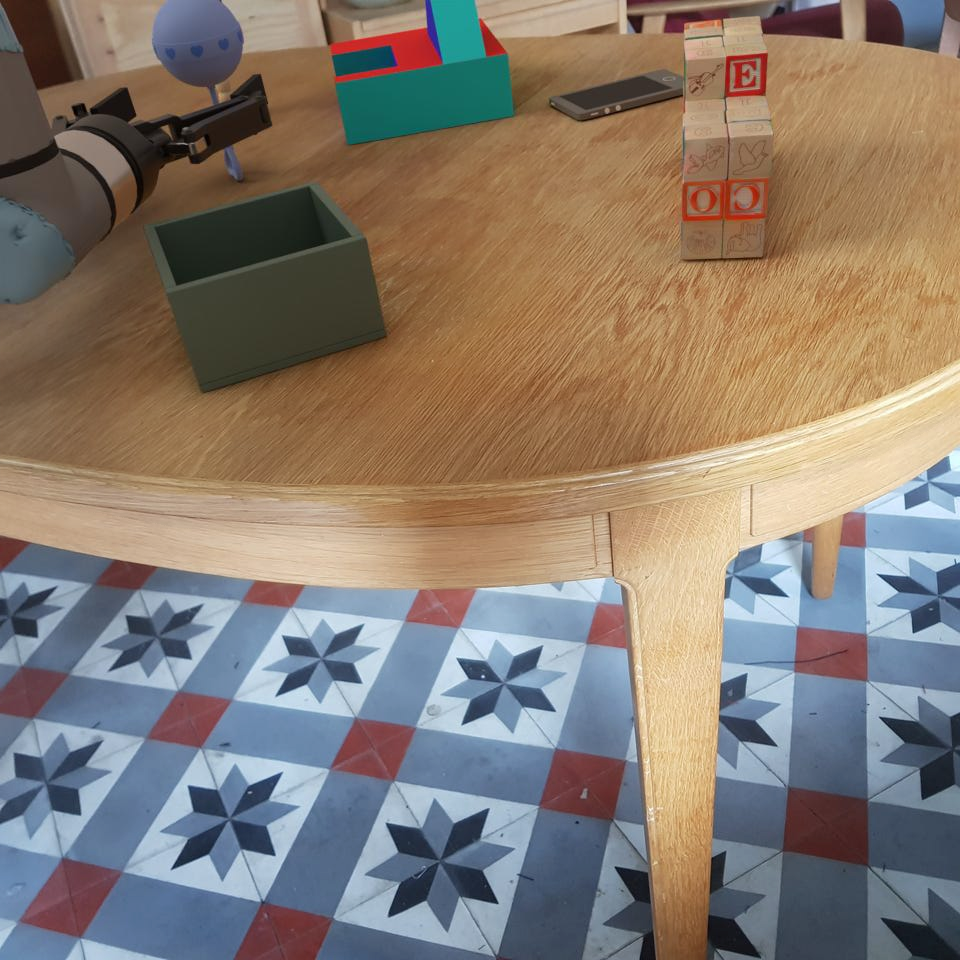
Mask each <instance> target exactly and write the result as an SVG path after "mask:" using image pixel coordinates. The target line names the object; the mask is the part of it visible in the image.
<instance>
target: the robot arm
mask: <svg viewBox="0 0 960 960" xmlns="http://www.w3.org/2000/svg"><path fill="white" fill-rule="evenodd" d="M24 52H25V50H24V48H23V45H22V44H20V43H19V40H18V38H17V36H16V34H15V31H14V29H13V26H12V25H11V22H10V20H9V18H8V15H7V12H6V11H5V9H4V7H3V5H2V3H1V2H0V304H1V305H2V304H3V305H14V306H19V305H23V304H28V303H30V302H33V301H35V300H37V299H38V298H40V297H42V296H43V295H44V294H46V293H47V292H48V291H49V290H51V289H52V288H53V287H54V286H56V285H57V284H59V283H60V282H62V281H65V280H66V279H67V278H68V277H70V276H71V275H72V273H73V271H74V269H76V267H77V266H78V265H79V264H80V263H81V262H82V261H83V260H84V258H85V257H87V255H89V254H90V252H91V251H93V249H94V248H95V247H96V246H100V245H102V244H103V242H104V240H105V239H106V238H107V237H108V235H110V233H112V231H114V230H115V229H116V228H117V227H118V226H119V225H120V224H121V223H122V222H124V221H125V220H126V219H127V218H128V217H129V216H131V215H132V214H133V213H134V212H135V211H137V209H138V208H140V207H141V205H143V204H144V203H145V202H146V201H147V200H148V199H149V198H150V197H151V196H152V194H153V193H154V192H155V190H156V188H157V187H156V186H157V184H158V179H159V175H160V171H161V170H162V169H164V167H165V166H166V165H167V164H170V163H173V162H176V161H179V160H182V159H184V158H186V157H188V160H189V163H190V164H191V165H199V164H201V163H203V162H205V161H207V160H208V159H210V157H211V156H213V155H214V154H217V153H218V152H220V151H222V150H223V149H225V148H227V147H229V146H231V145H233V146H234V145H235V144H237V143H239V142H242V141H244V140H246V139H248V138H250V137H252V136H257V135H258V134H259V133H261V132H263V131H265V130H267V129H269V128H271V127H273V122H272V118H271V113H270V110H269V106H268V105H269V100H268V96H267V93H266V92H267V91H266V89H265V85H264V81H263V76H262V74H261V73H256V74H252V75H251V76H250V77H249V78H248V79H246V80H245V81H244V82H243V83H242V84H241V85H240V86H238V87H237V88H236V89H235V90H234V91H233V92H232V94H231V95H230V98H231V100H228V101H225V102H222V103H220V102H219V104H216V105H213V104H212V105H210V106H208V107H207V106H206V107H204V108H201V109H199V110H194V111H193V112H190V113H186V114H184V115H181V116H178V115H176V114H172V113H166V114H163V115H160V116H157V117H154V118H151V119H149V120H143V119H137V120H135V121H132V120H134V119H135V118H136V117H137V116H138V115H137V112H136V108H135V106H134V103H133V101H132V97H131V94H130V91H129V88H128V86H126V87H118V88H117V89H116V90H115V91H113V92H111V94H109V95H108V96H106V97H104V98H103V99H101V100H100V101H99V102H97V103H96V104H94V105H93V106H91V107H89V111H88V109H87V106H86V103H85V102H78V103H74V104H72V105H71V106H70V108H71V110H72V112H73V116H74V118H73V119H69V118H68V117H67V115H64V114H63V115H62V114H58V115H56V116H55V117H53V118H52V123H51V125H50V122H49V119H48V117H47V114H46V112H45V109H44V106H43V103H42V101H41V98H40V95H39V93H38V90H37V87H36V84H35V82H34V79H33V77H32V74H31V71H30V68H29V66H28V62H27V60H26V58H25V55H24ZM131 121H132V122H131ZM166 126H167V127H168V130H169V133H170V134H168V132H167V131H165V129H163V128H162V127H166ZM223 151H224V150H223Z"/></svg>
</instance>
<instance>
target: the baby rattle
mask: <svg viewBox="0 0 960 960" xmlns="http://www.w3.org/2000/svg"><path fill="white" fill-rule="evenodd" d="M151 44H152V49H153V52H154V54H155V56H156V59H157V60H158V61H160V63H161V64H162V66H163V68H164V69H165V70H166V71H167V72H168V73H169V74H170V75H171V76H172V77H174V78H175V79H176V80H178V81H180V82H182V83H184V84H185V85H189V86H191V87H195V88H196V87H198V88H207V90H208V91H209V95H210V99H211V103H212V106H213V105H216V104H219V103H220V101H219V98H218V94H217V90H216V86H215V85H217V84H220V83H222V82H224V81H225V80H227V79H228V80H229V78H230V77H231V76H232V75H233V74H234V73H235V72H236V70H237V68H238V67H239V65H240V63H241V59H242V56H243V50H244V44H245V37H244V33H243V29H242V26H241V24H240V22H239V21H238V20H237V18H236V17H235V15H234V13H232V11H231V10H230V8H229V7H227V5H225V4H224V2H223V1H222V2H220V1H219V0H166V1H165V2H164V3H163V4H162V5H161V7H160V8H159V10H158V12H157V13H156V15H155V18H154V20H153V26H152V37H151ZM234 150H235V149H234V144H233V145H231V146H229V147H227V148H225V149H223V159H224V164H225V167H226V169H227V172H228V173H229V175H230V176H231V177H233V178H234V180H235V181H237V182H241V181H243V179H244V173H243V169H242V167H241V165H240V162H239V160H238V158H237V155H236V153H235V151H234Z"/></svg>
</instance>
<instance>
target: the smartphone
mask: <svg viewBox="0 0 960 960" xmlns="http://www.w3.org/2000/svg"><path fill="white" fill-rule="evenodd" d="M683 81H684V75H680V74H678V73H675V72H673V71H671V70H667V69H665V68H664V69H663V68H662V69H658V70H653V71H649V72H645V73H641V74H638V75H637V74H636V75H632V76H629V77H625V78H620V79H616V80H613V81H609V82H605V83H601V84H597V85H593V86H589V87H585V88H581V89H577V90H576V89H575V90H573V91H569V92H565V93H560V94H557V95H553V96H550V97H549V98H548V103H549V104H548V105H549V106H551V107H553V108H555V109H557V110H558V111H561V112H562V113H563V114H565V115H567V116H569V117H572V118H573V119H575V120H577V121H584V120H589V119H593V118H597V117H600V116H605V115H608V114H612V113H616V112H620V111H624V110H627V109H628V110H629V109H632V108H636V107H639V106H645V105H648V104H652V103H655V102H660V101H663V100H667V99H670V98H674V97H678V96H683Z"/></svg>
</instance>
